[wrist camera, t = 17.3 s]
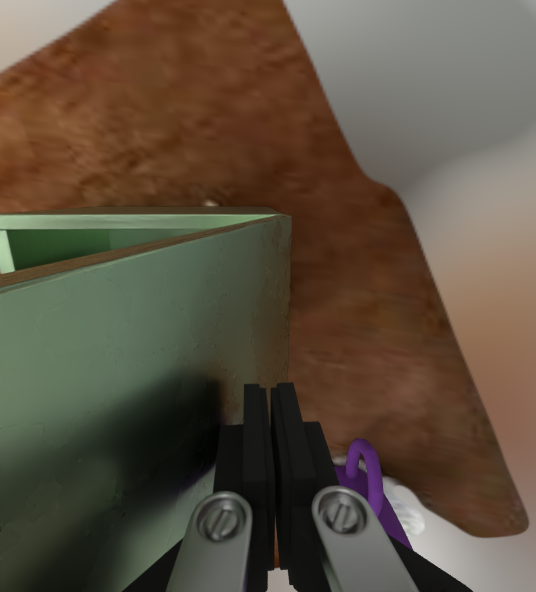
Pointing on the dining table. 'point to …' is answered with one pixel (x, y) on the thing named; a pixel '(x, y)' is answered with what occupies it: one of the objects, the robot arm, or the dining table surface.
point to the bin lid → (129, 396)
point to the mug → (370, 486)
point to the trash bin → (105, 229)
